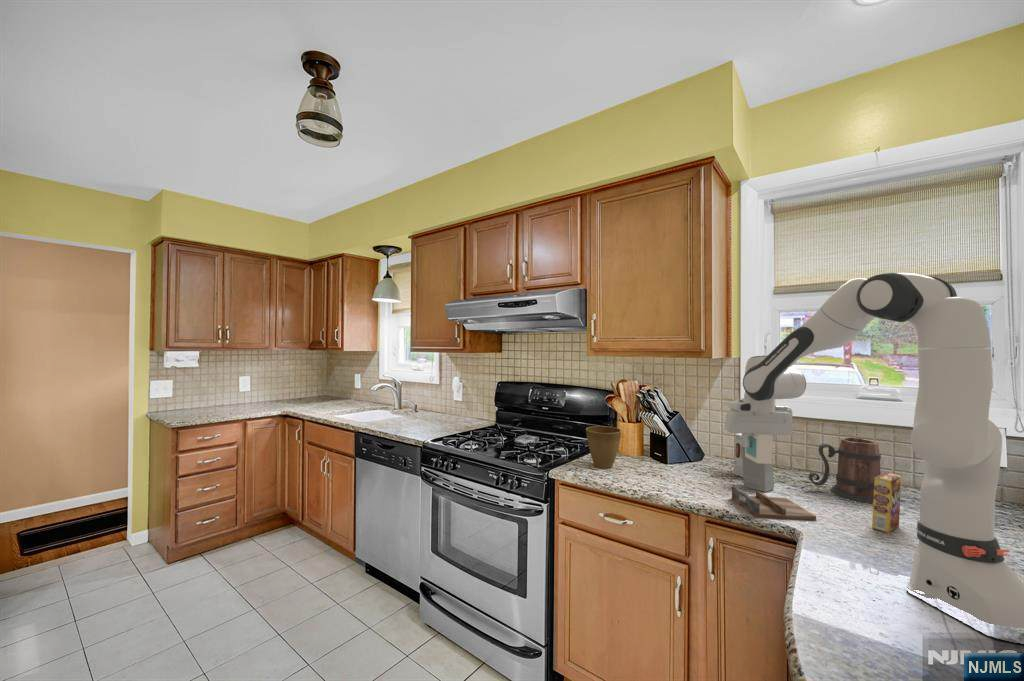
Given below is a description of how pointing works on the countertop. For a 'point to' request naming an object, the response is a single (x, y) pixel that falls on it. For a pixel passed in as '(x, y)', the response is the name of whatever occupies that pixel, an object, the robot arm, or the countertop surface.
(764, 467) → the skincare box
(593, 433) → the plant pot
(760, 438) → the cream carton
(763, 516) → the shelf board
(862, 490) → the tankard
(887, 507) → the candy box
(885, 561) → the countertop surface
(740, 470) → the supplement box
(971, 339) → the robot arm
